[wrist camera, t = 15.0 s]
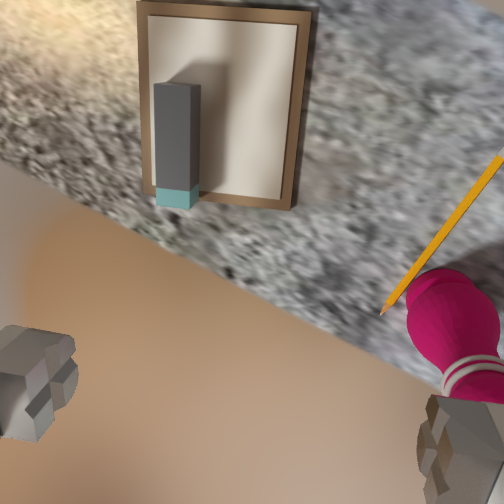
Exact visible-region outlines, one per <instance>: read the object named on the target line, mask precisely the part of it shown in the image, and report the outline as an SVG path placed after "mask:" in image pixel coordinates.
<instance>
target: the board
mask: <svg viewBox="0 0 504 504" xmlns="http://www.w3.org/2000/svg"><path fill="white" fill-rule="evenodd" d="M136 4H137V33H138V62H139V91H140V120H141V149H142V179H143V194H150V195H156V173H155V130H154V86H153V84H154V83H161V82H175V83H187V84H199V85H201V112H200V166H199V200H201V201H209V202H217V203H226V204H234V205H243V206H251V207H260V208H268V209H277V210H285V211H290V208H291V199H292V190H293V181H294V172H295V163H296V153H297V144H298V135H299V126H300V117H301V108H302V99H303V89H304V80H305V71H306V62H307V53H308V44H309V35H310V25H311V16H312V12H307V11H291V10H275V9H259V8H243V7H227V6H210V5H194V4H178V3H162V2H146V1H136Z"/></svg>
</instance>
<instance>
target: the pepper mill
mask: <svg viewBox="0 0 504 504" xmlns="http://www.w3.org/2000/svg"><path fill="white" fill-rule="evenodd" d="M406 305H407V309H408V314H407V329H408V333H409V335H410V337H411V339H412V341H413V344H414V345H415V347H416V348H417V349H418V351H419V352H420V353H421V354H422V355H423V356H424V357H425V358H426V359H427V360H429V361H430V362H431V363H433V364H434V365H435V366H437V367H438V368H439V369H440V371H441V372H442V374H443V377H442V379H441V392H442V395H443V396H446V397H453V398H459V399H465V400H472V401H478V402H481V401H483V402H490V403H497V404H504V360H502V359H500V357H499V355H498V352H497V345H498V342H499V338H500V321H499V316H498V313H497V311H496V309H495V307H494V305H493V303H492V301H491V300H490V299H489V298H488V297H487V296H486V295H485V294H484V293H483V292H482V291H480V290H479V289H477V288H475V286H474V284H473V283H472V281H471V280H470V279H469V278H468V277H466V276H465V275H464V274H462V273H460V272H458V271H455V270H451V269H436V270H432V271H429V272H426V273H424V274H422V275H421V276H419V277H418V278H417V279H416V280H415V281H414V282H413V283H412V284H411V285H410V287H409V289H408V291H407V295H406Z"/></svg>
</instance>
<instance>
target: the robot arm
mask: <svg viewBox="0 0 504 504" xmlns="http://www.w3.org/2000/svg"><path fill="white" fill-rule="evenodd" d="M75 351H76V348H75V342H74V338H72V337H71V336H70V335H66V334H61V333H55V332H50V331H45V330H39V329H34V328H27V327H22V326H16V325H10V326H6V327H4V328H3V329H2V330H1V331H0V438H1V437H7V438H12V439H19V440H24V441H30V442H36V443H37V442H38V441H39V439H40V438H41V437H42V436H43V434H44V433H45V432H46V430H47V429H48V428H49V427H50V425H51V424H52V423H53V421H54V420H55V418H54V411H56V410H58V409H60V408H62V407H64V406H66V405H67V403H68V402H69V400H70V399H71V398H72V396H73V394H74V391H75V389H76V386H77V382H78V366H77V364H76V363H75V362H74V361H73V359H72V358H71V356H72V355H73V353H74V352H75ZM425 409H426V412H427V417H428V420H427V421H425V422H424V423H422V424H421V425H420V429H419V433H418V437H417V461H418V466H419V471H420V472H421V473H422V474H423V475H424V476H425V477H426V478H427V480H426V483H425V486H424V489H423V490H424V495H425V499H426V504H504V404H497V403H490V402H483V401H481V402H478V401H472V400H465V399H459V398H453V397H446V396H440V395H433V394H432V395H431V396H430V398H429V399H428V402H427V405H426V408H425Z"/></svg>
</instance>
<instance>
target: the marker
mask: <svg viewBox="0 0 504 504" xmlns="http://www.w3.org/2000/svg"><path fill="white" fill-rule="evenodd" d="M153 86H154V130H155V173H156V206H165V207H173V208H181V209H190V208H191V207H192V206H193V205H194V204H195V203H196V202H197V201H198V200H199V166H200V112H201V85H199V84H187V83H175V82H161V83H154V84H153Z"/></svg>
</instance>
